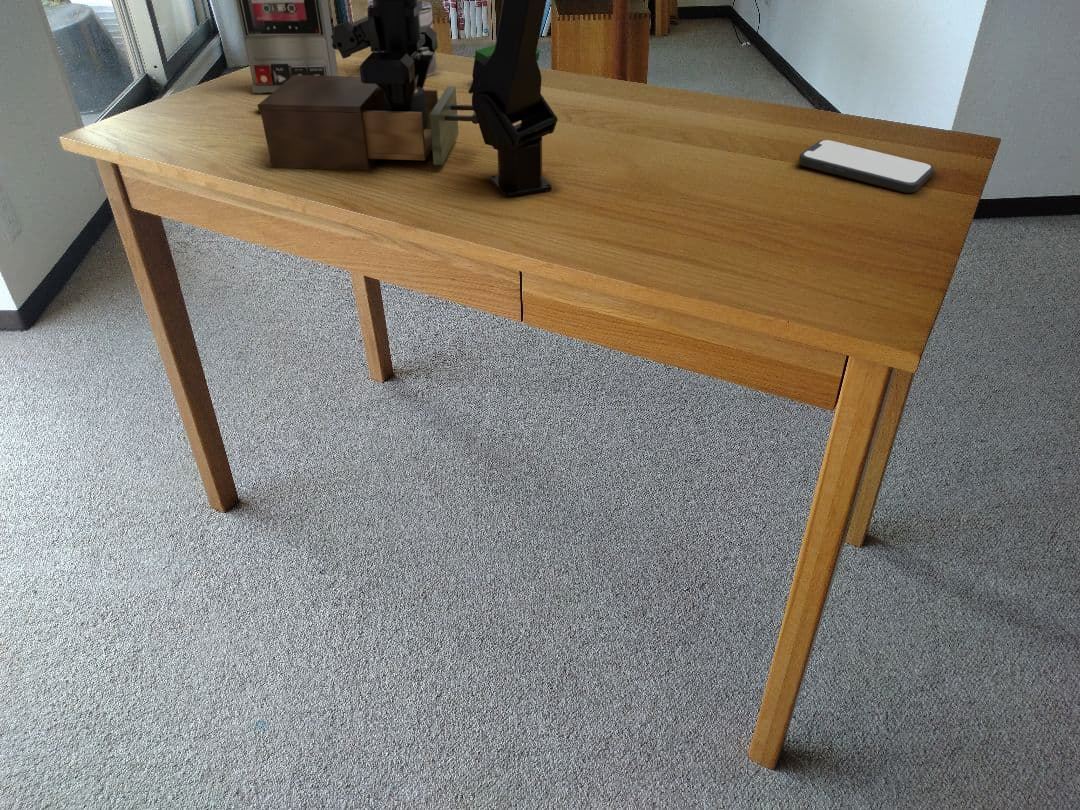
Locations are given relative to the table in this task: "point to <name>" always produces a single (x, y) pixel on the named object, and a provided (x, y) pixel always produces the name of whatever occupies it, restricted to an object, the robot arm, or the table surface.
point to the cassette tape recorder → (286, 40)
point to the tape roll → (415, 104)
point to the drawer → (414, 128)
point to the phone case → (867, 166)
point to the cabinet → (318, 123)
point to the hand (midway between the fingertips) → (407, 119)
